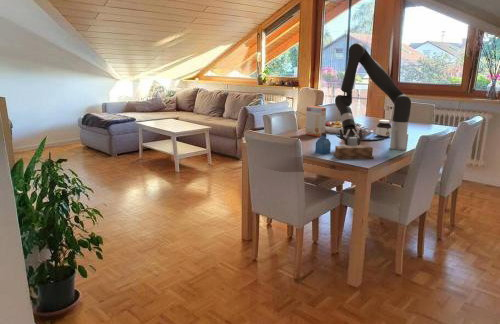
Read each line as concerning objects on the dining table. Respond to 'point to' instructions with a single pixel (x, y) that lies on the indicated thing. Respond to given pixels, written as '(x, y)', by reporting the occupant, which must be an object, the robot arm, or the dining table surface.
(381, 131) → the spread jar
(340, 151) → the stand
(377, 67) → the robot arm
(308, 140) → the dining table surface
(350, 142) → the slate peg
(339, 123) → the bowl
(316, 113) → the cracker box
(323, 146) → the perfume bottle
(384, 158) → the dining table surface
